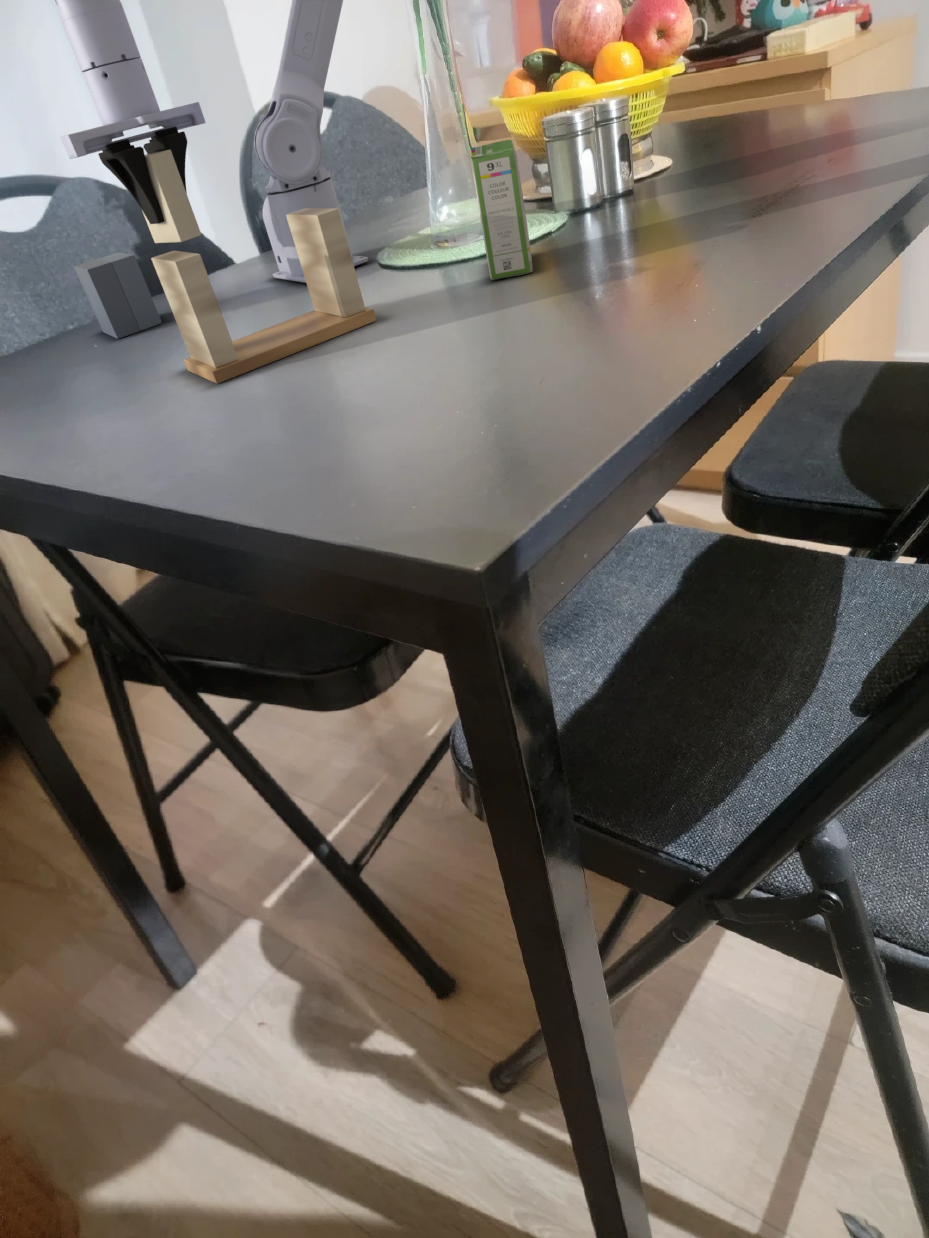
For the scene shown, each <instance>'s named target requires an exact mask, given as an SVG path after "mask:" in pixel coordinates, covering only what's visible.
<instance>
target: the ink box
mask: <svg viewBox="0 0 929 1238" xmlns="http://www.w3.org/2000/svg"><path fill="white" fill-rule="evenodd" d="M461 113H462V120H463V124H464V130H465V134H466V140H467V146H468V153H469V163H470V167H471V174H472V178H473V181H474V187H475V192H476V194H475V195H476V200H477V206H478V207H477V208H478V213H479V219H480V226H481V232H482V238H483V244H484V250H485V255H486V256H485V257H486V261H487V266H488V273H489V278H490V280H492V281H493V280H499V279H506V278H511V277H517V276H522V275H526V274H530V273H532V272H533V271H534V270H533V258H532V250H531V242H530V236H529V229H528V220H527V214H526V207H525V200H524V195H523V189H522V183H521V181H522V180H521V175H520V169H519V163H518V162H519V161H518V157H517V152H516V148H515V145H514V141H513V139H506V140H500V141H495V142H491V143H486V144H483V145H479V146H475V147H473V146H472V144H471V139H470V135H469V128H468V123H467V116H466V111H465V103H463V102H462V103H461Z"/></svg>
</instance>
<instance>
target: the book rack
mask: <svg viewBox="0 0 929 1238" xmlns="http://www.w3.org/2000/svg"><path fill="white" fill-rule="evenodd" d="M286 217H287V220H288V223H289V227H290V230H291V233H292V237H293V240H294V243H295V247H296V250H297V253H298V257H299V260H300V263H301V266H302V270H303V273H304V276H305V280H306V283H305V284H306V286H307V290H308V292H309V296H310V300H311V304H312V306H313V309H314V310H311V311H309V312H305V313H303V314H300V315H298V316H294V317H292V318H290V319H287V320H285V321H281V322H280V323H279V322H278V323H277V324H273V325H272V326H268V327H266V328H263V329H261V330H258V331H256V332H252V333H251V334H247V335H245V336H243V337H240V338H237V339H234V340H232V338H231V337H232V336H231V335H230V332H229V330H228V327H227V323H226V322H225V318H224V316H223V313H222V311H221V307H220V305H219V302H218V299H217V297H216V294H215V291H214V288H213V286H212V283H211V280H210V277H209V275H208V272H207V269H206V266H205V264H204V261H203V258H202V256H201V255H202V254H201V253H196V252H188V251H181V250H180V251H179V250H171V251H168V252H166V253H162V254H159V255H156V256H153V257H151V258H150V259H151V262H152V265H153V267H154V269H155V272H156V275H157V277H158V279H159V282H160V284H161V287H162V289H163V292H164V294H165V297H166V299H167V302H168V304H169V308H170V309H171V312H172V314H173V317H174V319H175V322H176V325H177V327H178V329H179V332H180V334H181V337H182V340H183V342H184V345H185V348H186V350H187V352H188V354H189V357H187V358H184V359H183V363H184V364H185V366H186V369H187V371H188V372H190V373H191V374H192V373H193V375H196V376H199V377H201V378H204V379H206V380H208V381H210V382H212V383H214V384H217V385H218V384H221V383H223V382H226V381H229V380H231V379H233V378H236V377H239V376H241V375H243V374H246V373H248V372H251V371H254V370H256V369H258V368H262V367H264V366H266V365H269V364H271V363H273V362H274V363H275V362H276V361H278V360H281V359H284V358H286V357H289V356H291V355H294V354H296V353H299V352H301V351H304V350H306V349H310V348H311V347H314V346H317V345H319V344H322V343H324V342H326V341H329V340H333V339H334V338H337V337H339V336H341V335H344V334H347V333H350V332H352V331H354V330H357V329H359V328H361V327H364V326H367V325H369V324H371V323H375V322H377V316H376V313H375V310H374V308H369V307H365V302H364V299H363V295H362V292H361V288H360V287H361V286H360V284H359V280H358V277H357V273H356V269H355V266H354V265H353V261H352V257H351V254H350V250H349V246H348V242H347V239H346V235H345V231H344V227H343V224H342V220H341V216H340V212H339V209H338V208H305V209H302V210H299V211H296V212H293V213H289V214H287V215H286Z"/></svg>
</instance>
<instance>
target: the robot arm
mask: <svg viewBox="0 0 929 1238" xmlns="http://www.w3.org/2000/svg"><path fill="white" fill-rule="evenodd" d="M53 1H54V3H55V4H56V5H57V6H58V9H59V19H60V21H61V24H62V26H63V28H64V31H65V34H66V37H67V38H68V41H69V44H70V46H71V48H72V52H73V54H74V56H75V58H76V62H77V64H78V67H79V69H80V71H81V74H82V76H83V78H84V81H85V84H86V86H87V89H88V92H89V94H90V96H91V98H92V101H93V105H94V106H95V109H96V111H97V113H98V116H99V119H100V122H101V124H102V125H100V126H96V127H93V128H88V129H85V130H80V131H77V132H73V133H69V134H65V135H62V136H60V140H61V142H62V145H63V147H64V149H65V152H66V154H67V156H68V158H69V159H70V160H71V159H77V158H80V157H84V156H87V155H91V154H94V153H98V152H99V153H98V154H97V155H98V157H99V159H100V161H101V163H102V164H103V166H104V167H105V168H107V170H108V171H110V172H111V173H112V174H113V175H114V176H115V177H116V178H117V180H118V181H119V182H120V183H121V184H122V185H123V186H124V188H125V189H126V190H127V191H128V192H129V194H130V195H131V196H132V198H133V199H134V201H135V203H137V205H138V206H139V208H140V209H141V211H143V212H144V214H145V216H146V217H147V219H148V221H149V223H150V224H159V223H162V222H164V218H163V214H162V210H161V207H160V205H159V202H158V200H157V197H156V195H155V192H154V189H153V187H152V184H151V180H150V177H149V173H148V169H147V165H146V160H145V152H146V154H150V153H155V152H160V151H165V150H171V152H172V155H173V158H174V161H175V163H176V166H177V169H178V172H179V174H180V177H181V180H182V183H183V185H184V188H185V191H186V194H187V195H188V192H187V183H186V182H187V181H186V157H187V148H188V138H187V135H186V133H185V131H180V130H184V129H187V128H191V127H195V126H200V125H203V124H206V119H205V116H204V113H203V111H202V107H201V105H200V102H199V101H196V102H193V103H189V104H184V105H180V106H176V107H172V108H168V109H163V110H161V109H160V106H159V104H158V101H157V98H156V95H155V92H154V89H153V87H152V84H151V82H150V78H149V76H148V73H147V71H146V67H145V65H144V62H143V58H142V56H141V54H140V53H141V52H140V51H139V47H138V46H137V43H136V39H135V36H134V33H133V32H132V28H131V25H130V23H129V20H128V17H127V15H126V12H125V9H124V6H123V3H122V1H121V0H53ZM343 2H344V0H291V3H290V4H291V5H290V10H289V15H288V18H287V19H288V20H287V23H286V24H287V25H286V30H285V34H284V35H285V36H284V41H283V46H282V51H281V56H280V60H279V66H278V71H277V75H276V79H275V82H274V87H273V90H272V94H271V98H270V102H269V106H268V107H269V108H268V110H267V112H266V114H265V115H264V116H263V118H262V119H261V120H260V121H259V123H258V125H257V126H256V129H255V132H254V137H253V146H254V151H255V152H254V153H255V155H256V157H257V160H258V161H259V164H260V165H261V166H262V167H263V168H264V170H266V172H268V173H269V174H270V176H269V181H268V184H267V185H266V186H265V187H264V192H265V193H266V197H265V199H264V202H263V205H262V219H263V224H264V226H265V230H266V232H267V236H268V240H269V241H270V245H271V249H272V252H273V255H274V258H275V262H276V264H277V265H276V266H277V268H278V271H276V272H274V273H272V277H273V278H275V279H278V280H279V279H280V280H286V281H292V282H298V283H303V284H304V283H305V284H307V283H306V280H305V276H304V273H303V270H302V266H301V263H300V260H299V257H298V253H297V250H296V247H295V243H294V240H293V237H292V233H291V230H290V227H289V223H288V220H287V217H286V215H287V214H289V213H293V212H296V211H299V210H302V209H305V208H338V209H339V212H340V216H341V220H342V224H343V227H344V231H345V235H346V239H347V242H348V246H349V250H350V254H351V257H352V261H353V265H354V267H356V266H359V265H362V264H366V263H368V262H369V257H368V256H363V255H362V256H361V255H354V254H353V252H352V249H351V245H350V242H349V236H348V234H347V230H346V227H345V222H344V219H343V216H342V215H343V214H342V211H341V206H340V204H339V199H338V196H337V193H336V189H335V185H334V181H333V177H331V176H332V174H331V169H329V168H324V167H323V166H322V163H323V159H324V143H323V139H322V133H321V124H322V118H323V112H324V98H325V97H324V96H325V87H326V83H327V82H326V81H327V77H328V72H329V69H330V63H331V59H332V54H333V49H334V45H335V41H336V40H335V39H336V35H337V31H338V26H339V23H340V17H341V12H342V8H343V4H344V3H343ZM144 126H148V128H149V129H150V130H151V129H155V130H151V131H147V132H143V133H140V134H135V135H132V136H127V137H125V134H124V132H125V131H129V130H133V129H137V128H142V127H144ZM160 127H162V128H160ZM156 128H158V129H156ZM122 137H124V138H122ZM118 138H121V139H118ZM150 138H151V139H150ZM113 139H114V140H113ZM115 139H117V140H115ZM146 139H148V142H147V143H144V144H143V147H142V146H136V147H135V145H134V144H131V143H135V142H139V141H143V140H146ZM143 212H142V213H143ZM144 214H143V215H144Z"/></svg>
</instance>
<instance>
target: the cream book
mask: <svg viewBox="0 0 929 1238" xmlns="http://www.w3.org/2000/svg"><path fill="white" fill-rule="evenodd" d="M144 155H145V160H146V165H147V169H148V173H149V177H150V180H151V184H152V187H153V189H154V192H155V195H156V197H157V200H158V202H159V205H160V207H161V210H162V214H163V218H164V222H162V223H159V224H150V223H149V221H148V219H147V217H146V216H145V214H144V212H143V211H142V210H141V211H142V214H143V217H144V219H145V221H146V224H147V227H148V229H149V232H150V234H151V238H152V239H153V242H154V244H169V243H171V244H172V243H183V242H186V241H189V240H192V239H194V238H197V237H200V236H202V232H201V229H200V226H199V224H198V221H197V219H196V216H195V213H194V210H193V208H192V205H191V202H190V200H189V196H188V193H187V194H186V191H187V190H186V191H185V188H184V185H183V183H182V180H181V177H180V174H179V172H178V169H177V166H176V163H175V161H174V158H173V155H172V152H171V150H165V151H160V152H155V153H150V154H147V153H144Z"/></svg>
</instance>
